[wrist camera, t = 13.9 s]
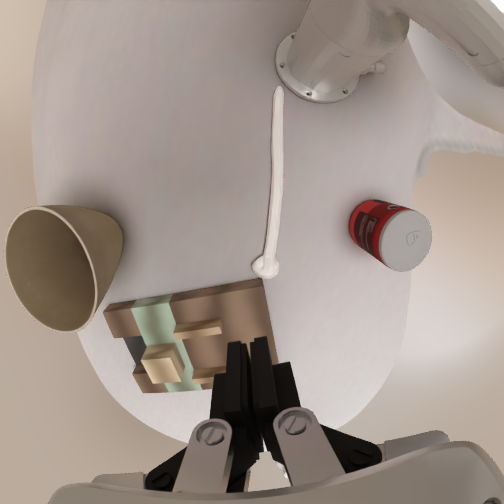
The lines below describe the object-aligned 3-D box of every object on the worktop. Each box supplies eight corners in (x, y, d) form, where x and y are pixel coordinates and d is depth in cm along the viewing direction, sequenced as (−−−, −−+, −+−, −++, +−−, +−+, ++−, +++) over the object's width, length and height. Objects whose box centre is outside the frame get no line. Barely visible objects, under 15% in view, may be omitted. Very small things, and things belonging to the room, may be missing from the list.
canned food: (399, 225, 40) (440, 243, 29) (365, 258, 41) (399, 285, 31) (375, 187, 38) (415, 196, 28) (338, 221, 39) (369, 240, 29)
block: (175, 342, 41) (170, 357, 37) (185, 365, 42) (181, 381, 38) (147, 345, 41) (140, 360, 37) (158, 368, 42) (153, 383, 39)
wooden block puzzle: (261, 277, 41) (264, 293, 36) (279, 367, 47) (283, 388, 41) (109, 304, 42) (96, 319, 37) (146, 383, 47) (139, 402, 42)
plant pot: (63, 193, 36) (-4, 210, 21) (143, 188, 37) (87, 202, 22) (73, 280, 40) (20, 324, 25) (149, 285, 41) (109, 342, 26)
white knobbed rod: (256, 85, 34) (258, 79, 31) (285, 87, 34) (289, 82, 31) (250, 275, 42) (251, 283, 39) (278, 276, 42) (280, 283, 39)
